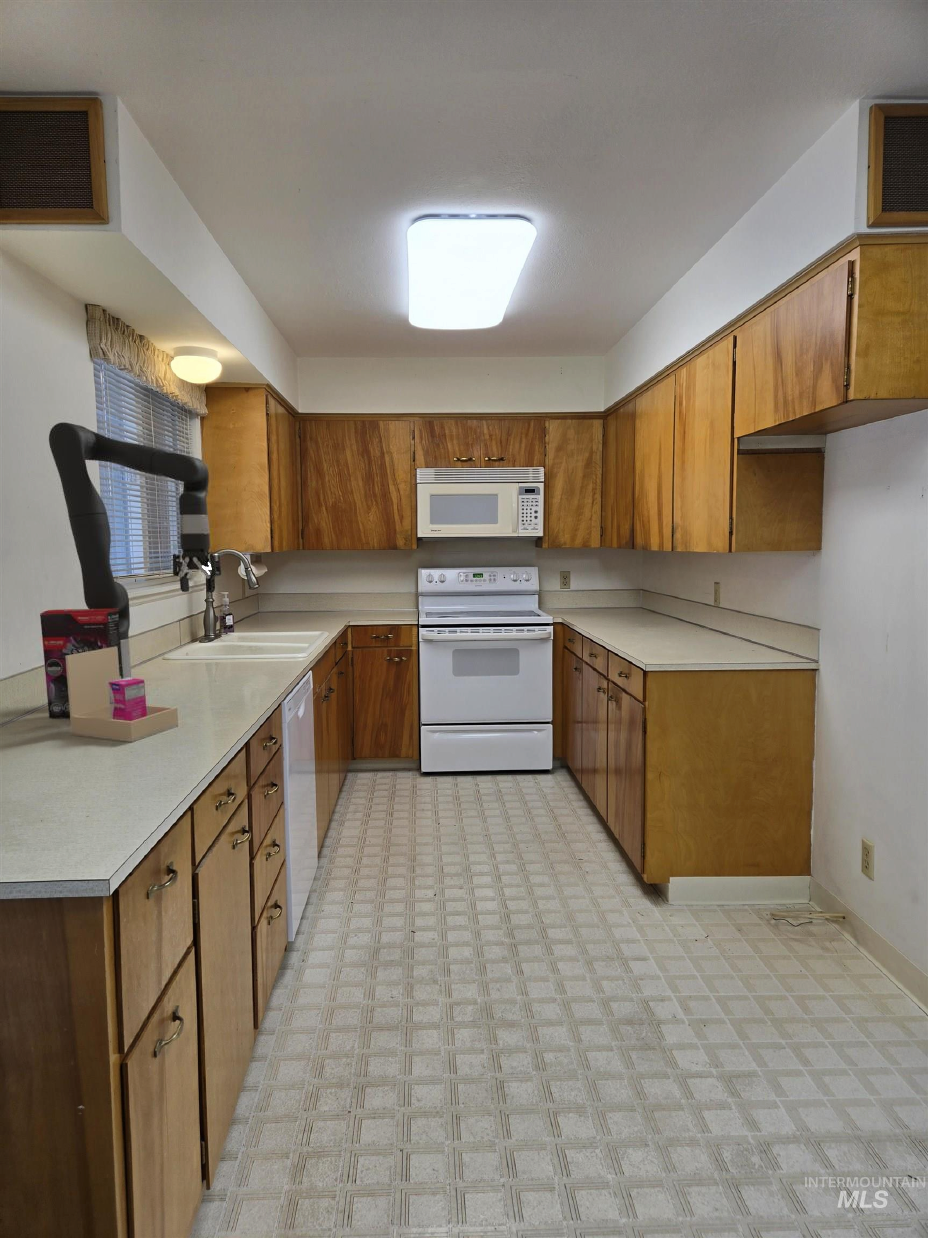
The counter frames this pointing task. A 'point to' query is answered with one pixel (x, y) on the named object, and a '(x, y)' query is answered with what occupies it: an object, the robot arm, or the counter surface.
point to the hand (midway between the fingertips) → (198, 592)
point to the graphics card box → (74, 647)
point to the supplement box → (127, 699)
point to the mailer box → (106, 700)
